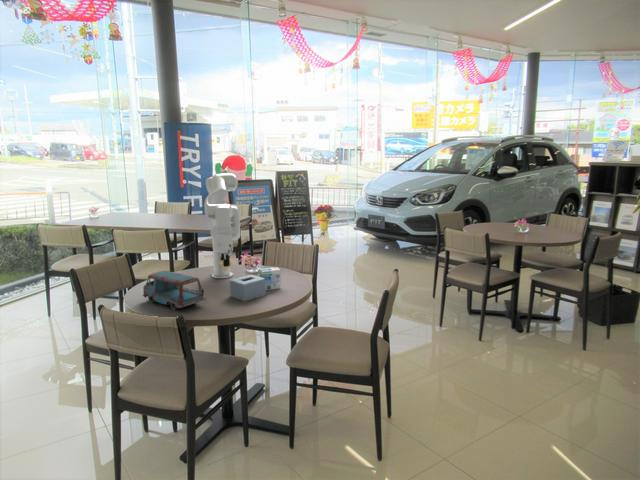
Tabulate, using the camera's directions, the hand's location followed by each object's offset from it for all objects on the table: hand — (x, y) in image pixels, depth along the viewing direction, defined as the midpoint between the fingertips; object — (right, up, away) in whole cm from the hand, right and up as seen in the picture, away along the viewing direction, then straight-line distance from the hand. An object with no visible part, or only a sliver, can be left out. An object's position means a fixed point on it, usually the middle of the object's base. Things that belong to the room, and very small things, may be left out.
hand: (225, 265), depth 233 cm
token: (+1, -1, +1) cm, 2 cm away
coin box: (+11, -16, +6) cm, 20 cm away
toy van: (-25, -19, -5) cm, 32 cm away
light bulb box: (+21, -14, +19) cm, 32 cm away
